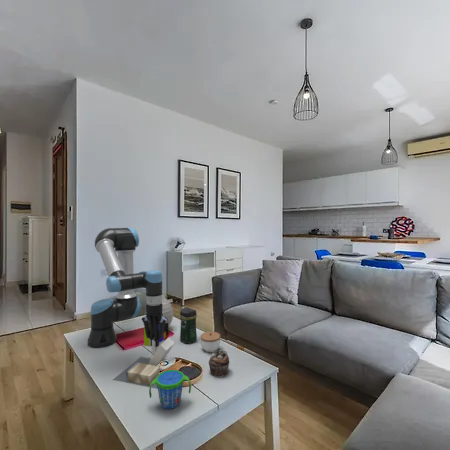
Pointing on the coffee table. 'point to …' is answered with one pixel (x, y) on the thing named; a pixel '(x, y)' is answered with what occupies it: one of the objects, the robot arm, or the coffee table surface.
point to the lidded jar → (210, 341)
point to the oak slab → (142, 373)
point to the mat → (122, 375)
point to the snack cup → (170, 387)
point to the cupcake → (219, 363)
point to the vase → (167, 310)
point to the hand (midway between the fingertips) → (154, 352)
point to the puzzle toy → (148, 342)
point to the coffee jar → (188, 325)
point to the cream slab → (161, 352)
